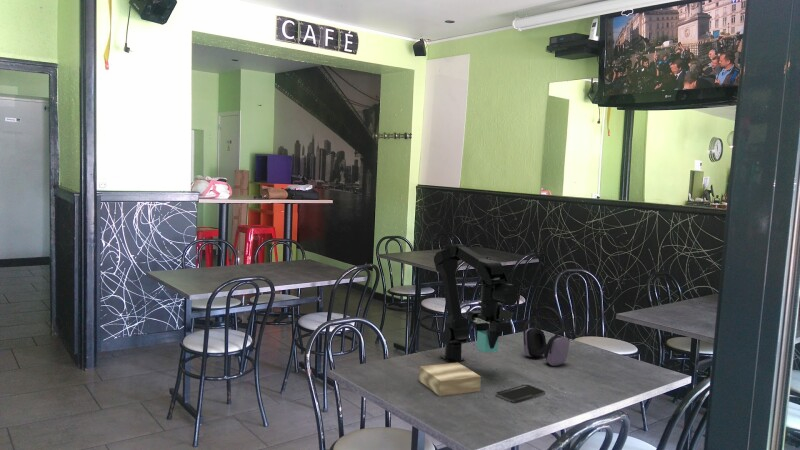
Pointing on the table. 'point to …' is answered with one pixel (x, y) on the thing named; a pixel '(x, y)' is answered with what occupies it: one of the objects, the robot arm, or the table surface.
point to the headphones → (537, 344)
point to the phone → (520, 393)
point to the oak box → (449, 379)
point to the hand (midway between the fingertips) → (487, 346)
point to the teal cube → (485, 342)
